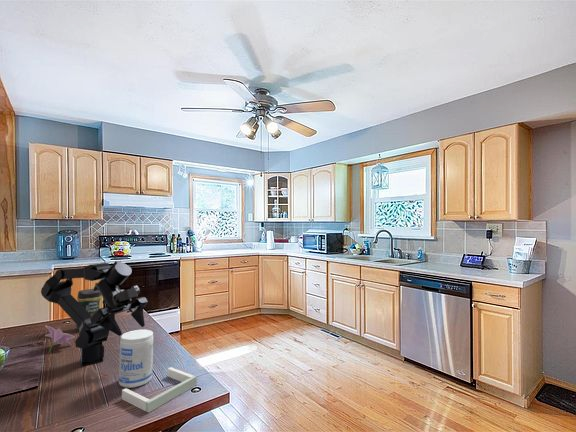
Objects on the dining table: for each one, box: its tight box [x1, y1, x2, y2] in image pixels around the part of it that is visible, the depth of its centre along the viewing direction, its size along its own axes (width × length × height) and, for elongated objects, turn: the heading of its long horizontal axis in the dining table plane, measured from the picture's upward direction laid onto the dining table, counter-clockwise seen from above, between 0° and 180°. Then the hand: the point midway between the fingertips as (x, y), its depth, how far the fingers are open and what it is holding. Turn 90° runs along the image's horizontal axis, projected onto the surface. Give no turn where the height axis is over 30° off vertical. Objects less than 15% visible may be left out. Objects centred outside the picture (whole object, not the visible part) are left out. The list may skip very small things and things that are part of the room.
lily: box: [44, 324, 76, 353], centre depth 122 cm, size 12×12×10 cm
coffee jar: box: [75, 288, 102, 332], centre depth 146 cm, size 10×8×19 cm
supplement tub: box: [118, 329, 154, 389], centre depth 97 cm, size 10×10×15 cm
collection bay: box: [121, 366, 198, 413], centre depth 91 cm, size 12×16×2 cm
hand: (132, 330), depth 104 cm, fingers open, 9 cm apart
